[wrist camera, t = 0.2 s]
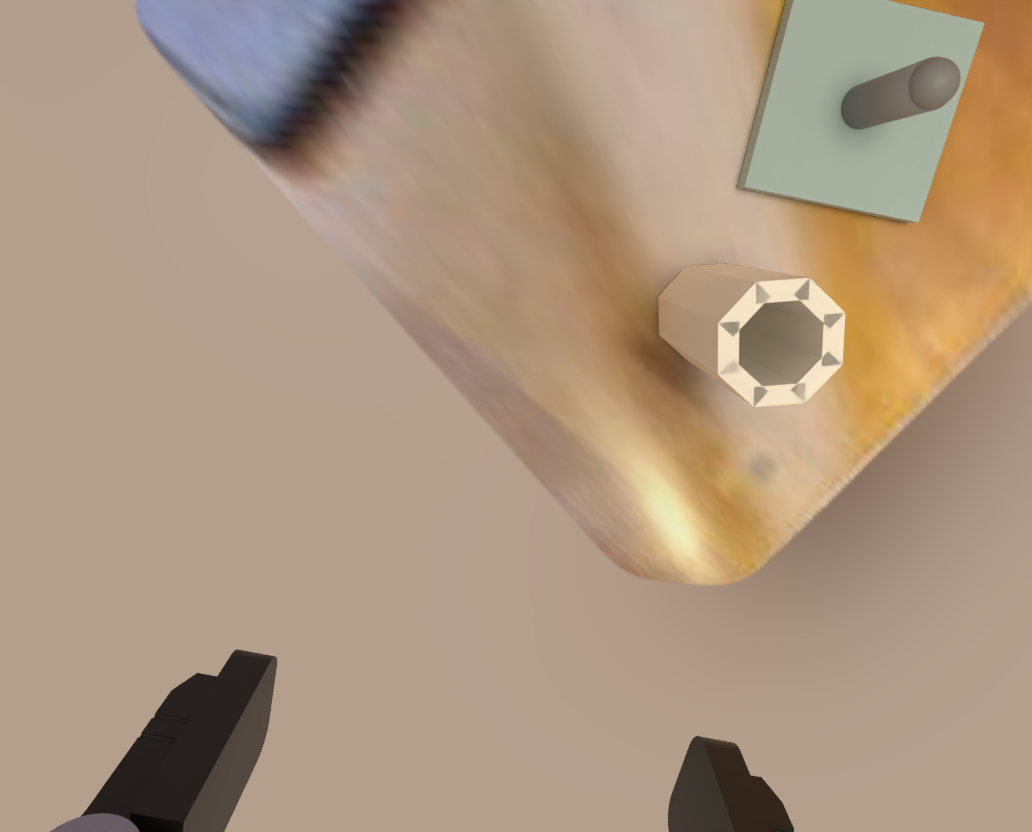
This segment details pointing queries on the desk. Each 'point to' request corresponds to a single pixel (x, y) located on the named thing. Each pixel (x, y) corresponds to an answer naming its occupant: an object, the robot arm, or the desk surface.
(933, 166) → the peg stand
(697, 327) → the white octagonal tube
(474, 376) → the desk surface
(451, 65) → the desk surface
